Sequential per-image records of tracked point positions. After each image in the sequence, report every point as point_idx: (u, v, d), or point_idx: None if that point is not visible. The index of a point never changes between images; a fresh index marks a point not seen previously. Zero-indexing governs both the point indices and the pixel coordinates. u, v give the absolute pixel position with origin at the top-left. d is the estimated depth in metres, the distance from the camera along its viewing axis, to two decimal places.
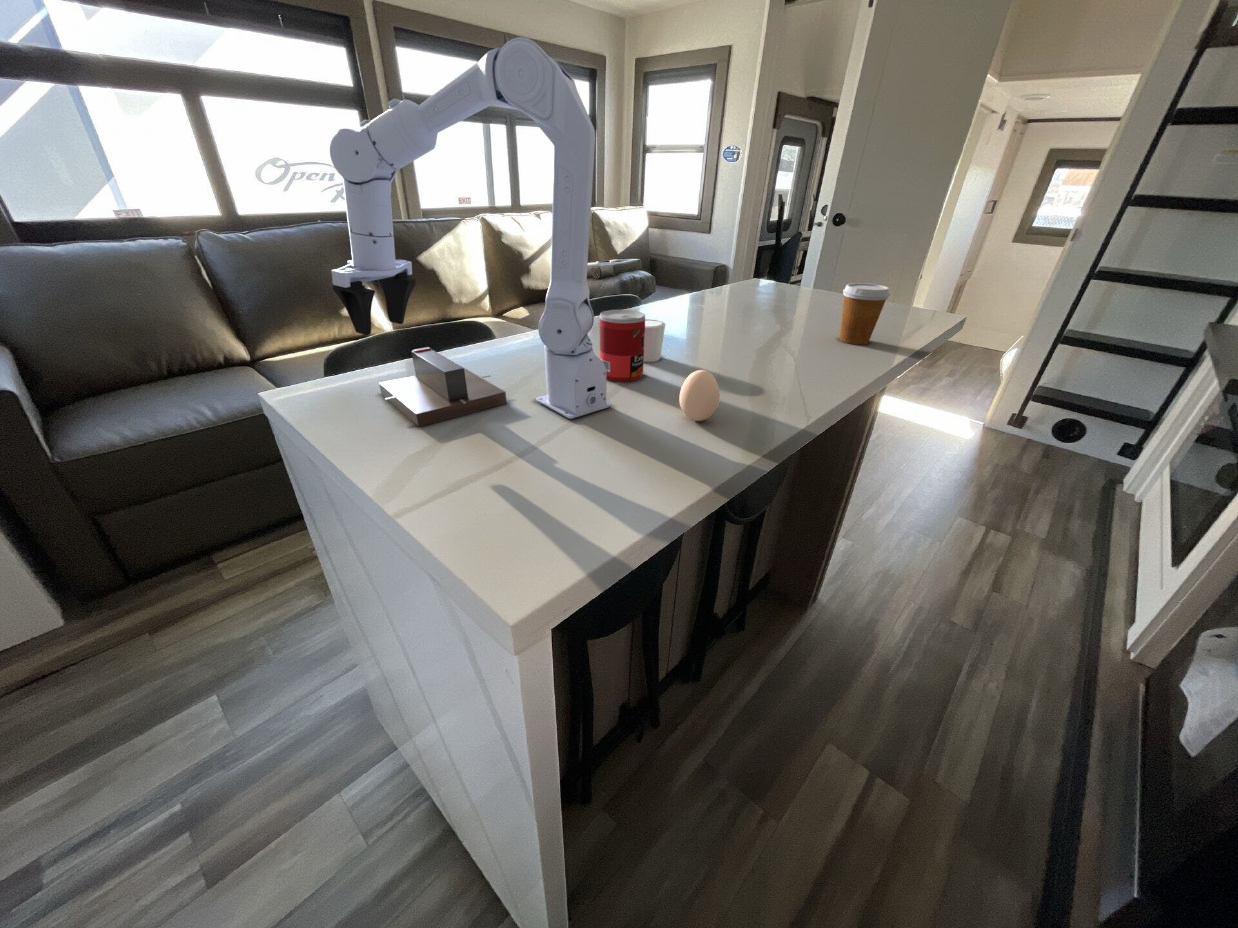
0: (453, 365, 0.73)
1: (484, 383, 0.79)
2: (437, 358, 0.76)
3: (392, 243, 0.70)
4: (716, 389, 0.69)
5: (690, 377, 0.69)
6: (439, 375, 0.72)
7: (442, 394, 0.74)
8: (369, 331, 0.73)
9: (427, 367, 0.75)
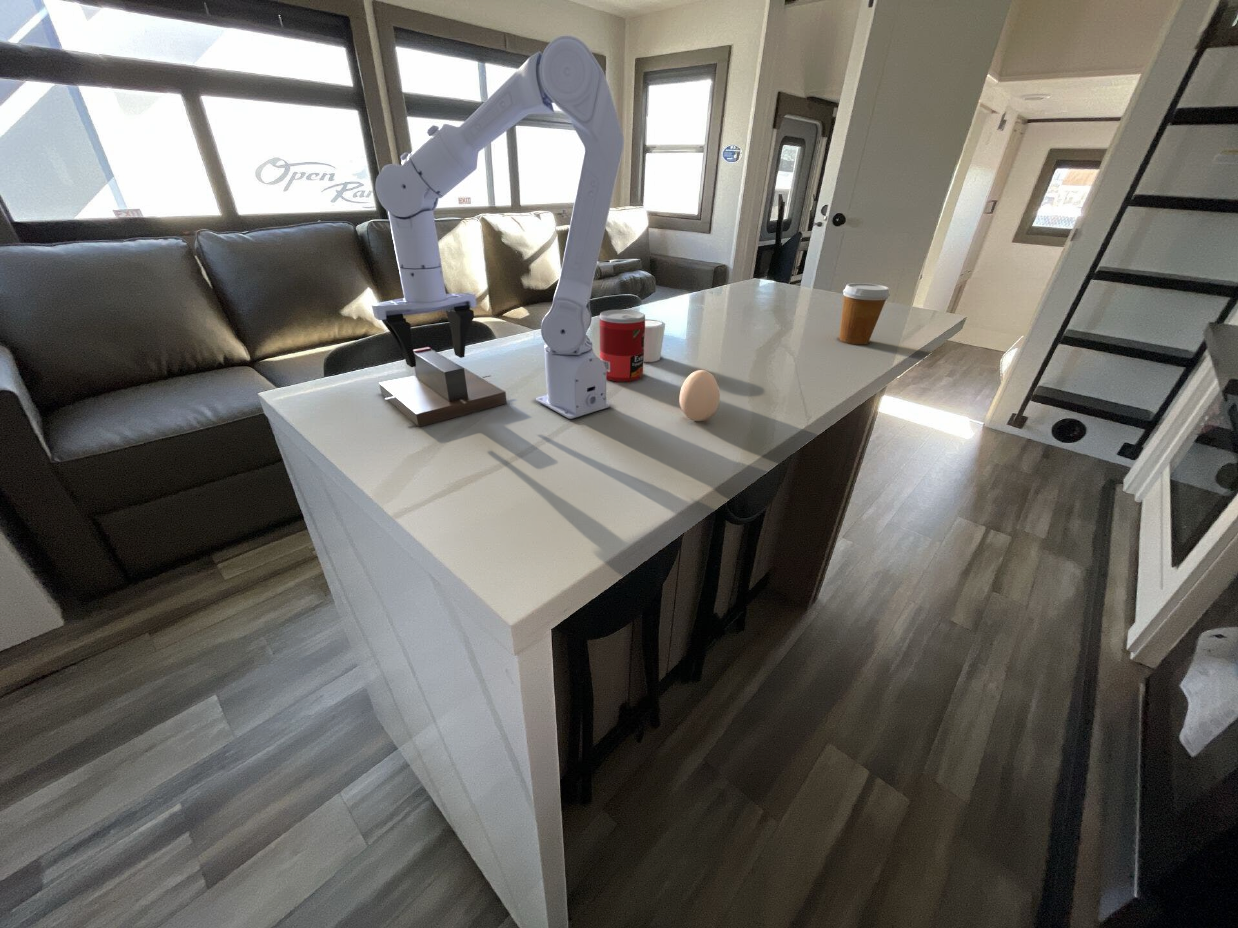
0: (453, 365, 0.73)
1: (484, 383, 0.79)
2: (437, 358, 0.76)
3: (434, 275, 0.68)
4: (716, 389, 0.69)
5: (690, 377, 0.69)
6: (439, 375, 0.72)
7: (442, 394, 0.74)
8: (413, 363, 0.72)
9: (427, 367, 0.75)
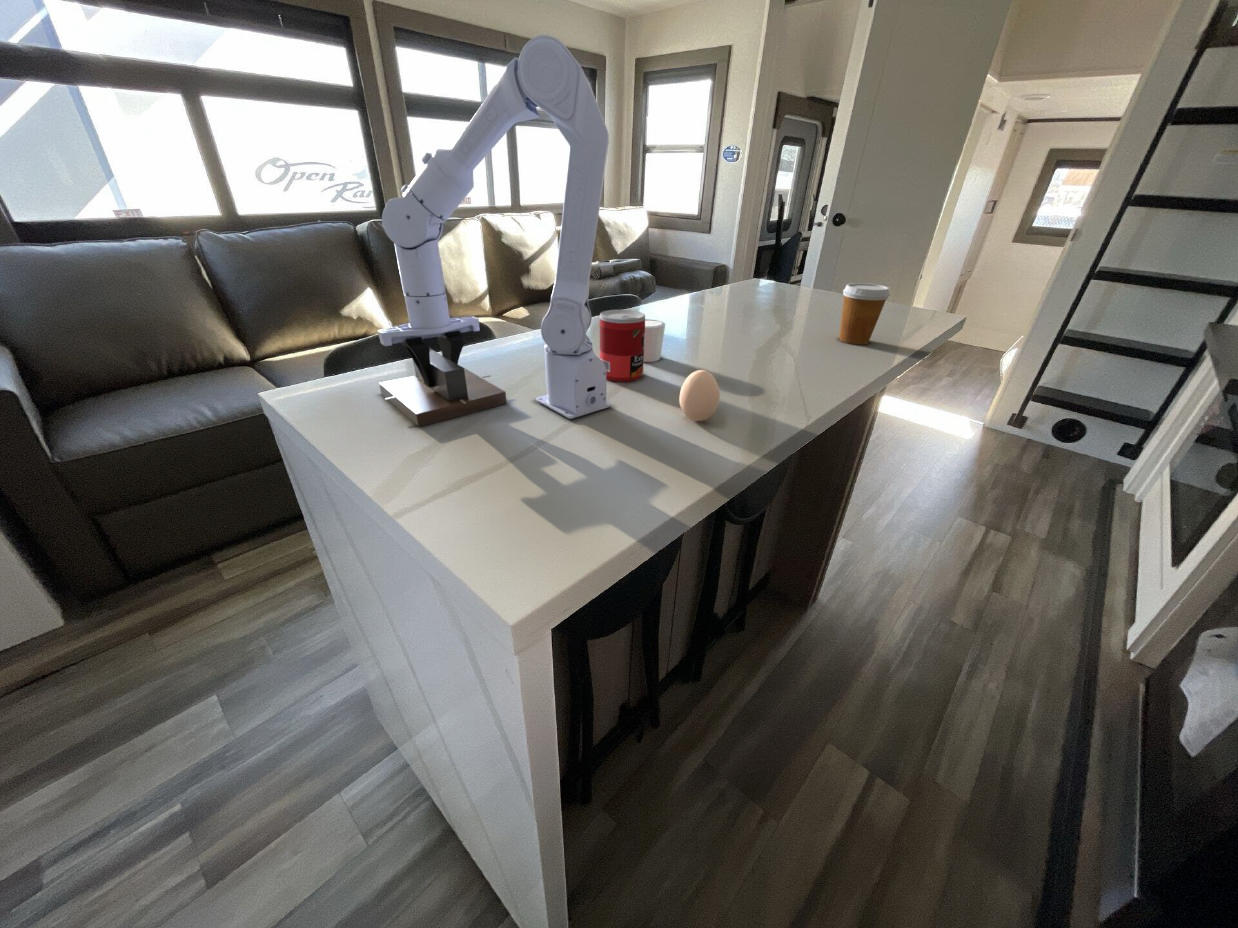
0: (453, 365, 0.73)
1: (484, 383, 0.79)
2: (437, 358, 0.76)
3: (438, 302, 0.70)
4: (716, 389, 0.69)
5: (690, 377, 0.69)
6: (439, 375, 0.72)
7: (442, 394, 0.74)
8: (431, 384, 0.75)
9: None
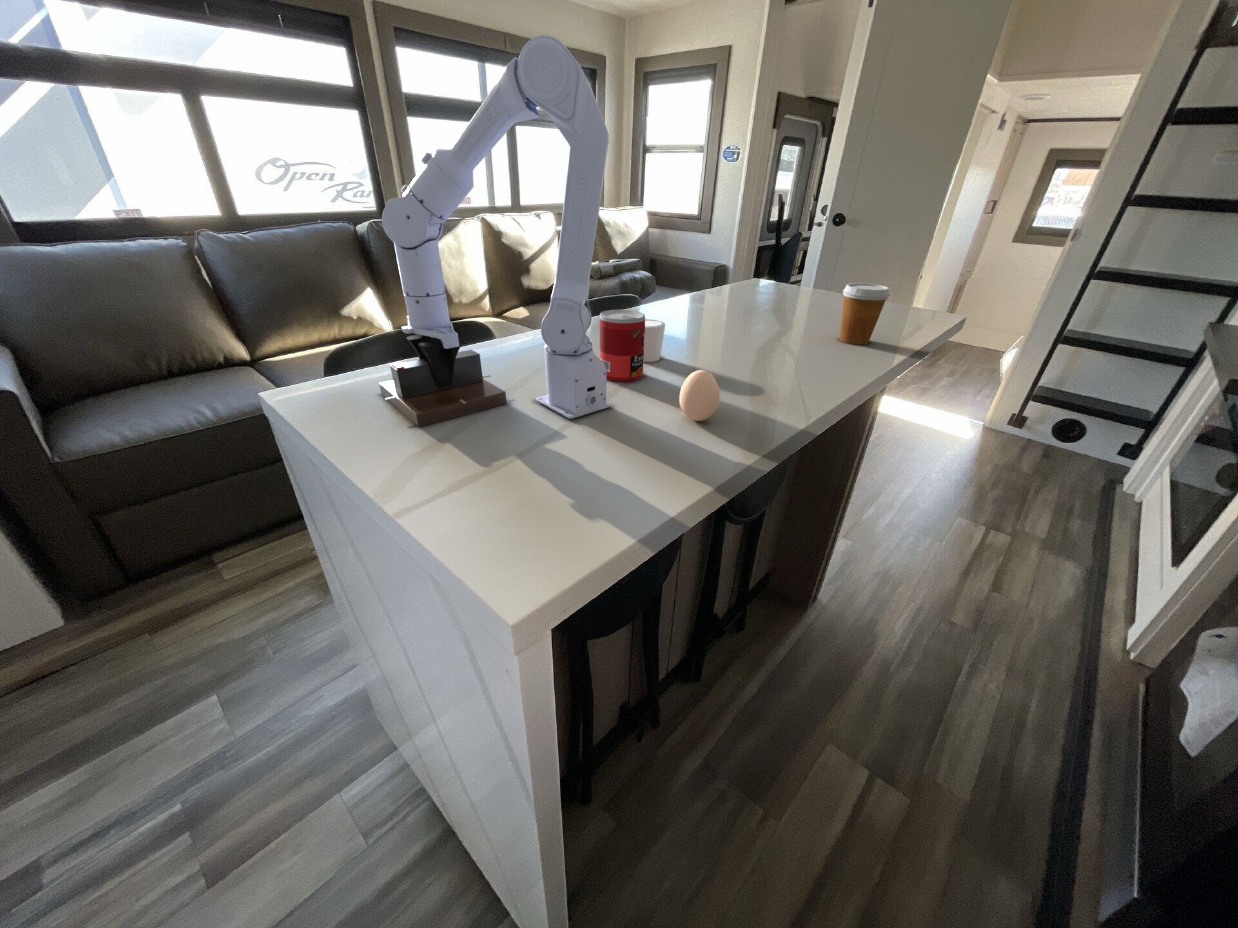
0: (462, 352, 0.78)
1: (484, 383, 0.79)
2: None
3: None
4: (716, 389, 0.69)
5: (690, 377, 0.69)
6: (467, 363, 0.77)
7: (469, 381, 0.79)
8: None
9: None
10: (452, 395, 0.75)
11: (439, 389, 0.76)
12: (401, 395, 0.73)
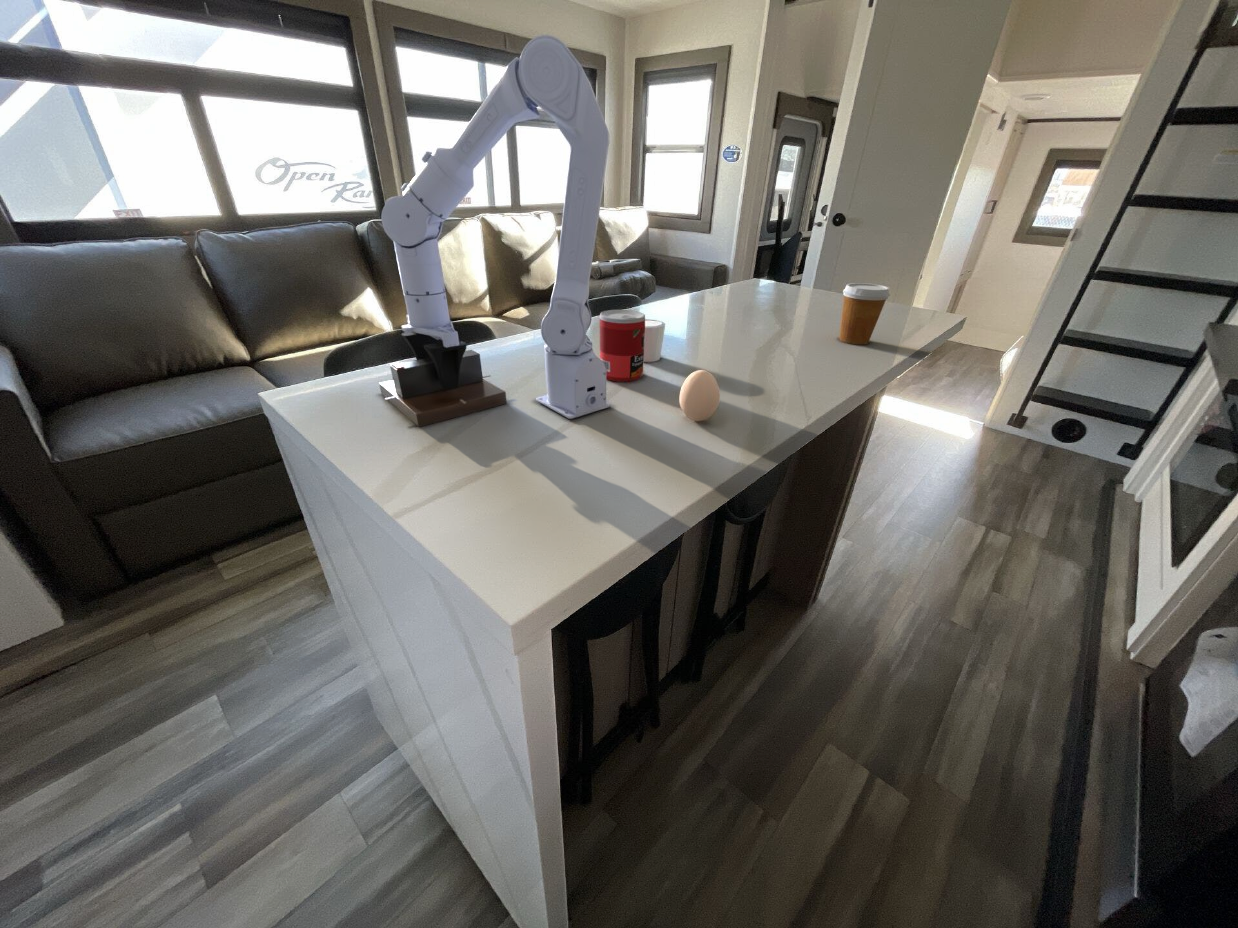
0: None
1: (484, 383, 0.79)
2: None
3: None
4: (716, 389, 0.69)
5: (690, 377, 0.69)
6: (467, 363, 0.77)
7: (469, 381, 0.79)
8: None
9: None
10: (452, 395, 0.75)
11: (439, 389, 0.76)
12: (401, 395, 0.73)
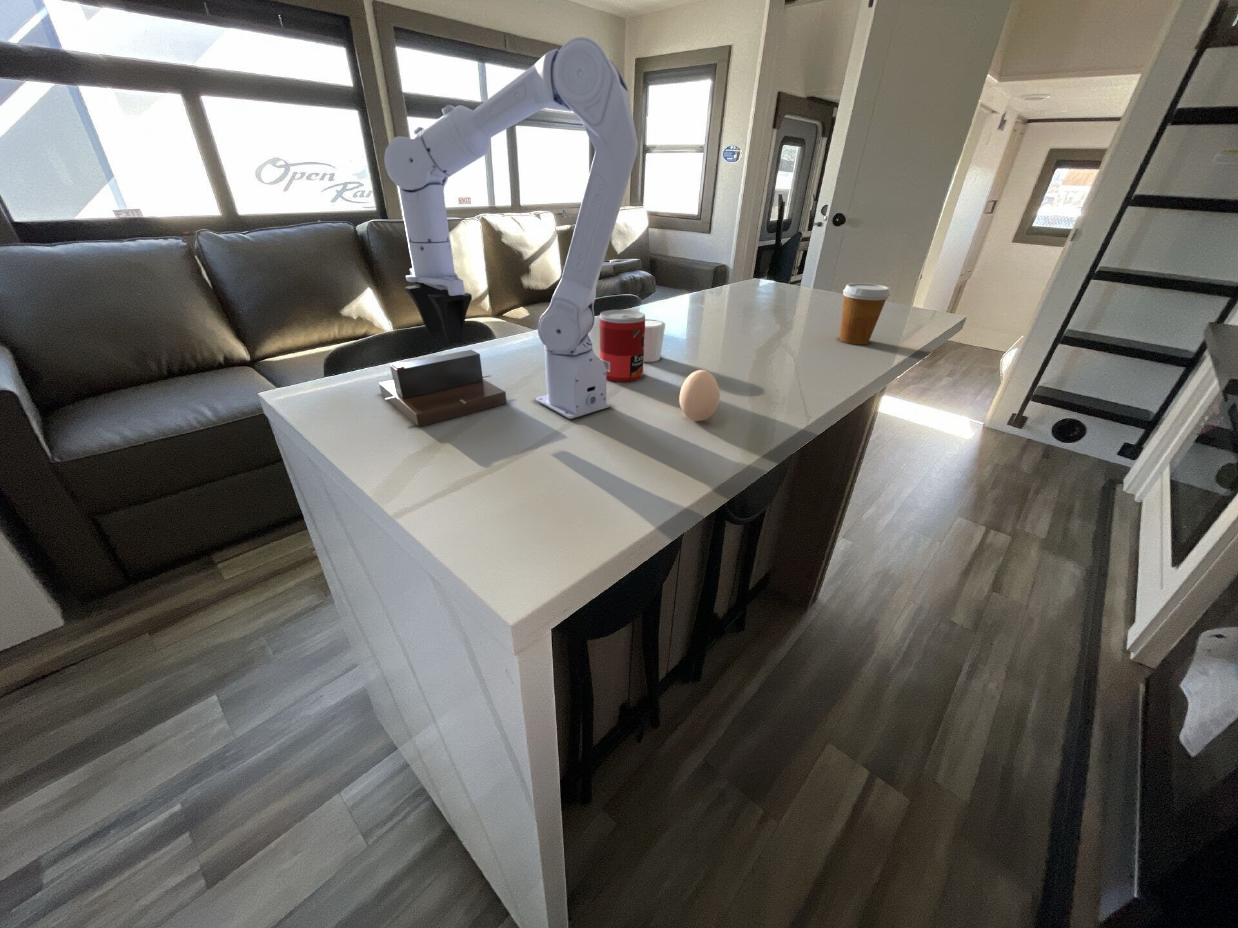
0: (462, 352, 0.78)
1: (484, 383, 0.79)
2: (434, 358, 0.75)
3: None
4: (716, 389, 0.69)
5: (690, 377, 0.69)
6: (467, 363, 0.77)
7: (469, 381, 0.79)
8: None
9: (440, 368, 0.75)
10: (452, 395, 0.75)
11: (439, 389, 0.76)
12: (401, 395, 0.73)
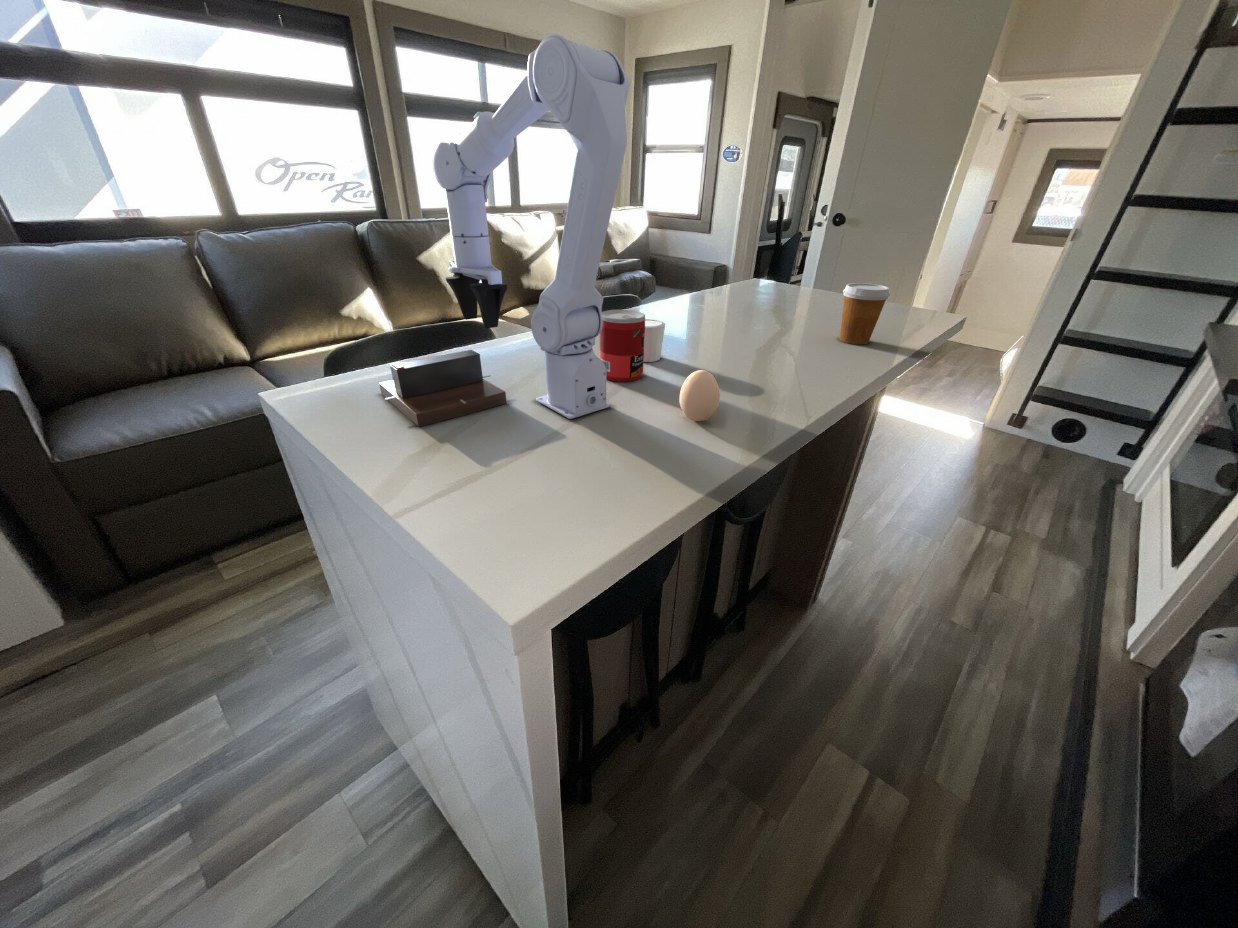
0: (462, 352, 0.78)
1: (484, 383, 0.79)
2: (434, 358, 0.75)
3: None
4: (716, 389, 0.69)
5: (690, 377, 0.69)
6: (467, 363, 0.77)
7: (469, 381, 0.79)
8: None
9: (440, 368, 0.75)
10: (452, 395, 0.75)
11: (439, 389, 0.76)
12: (401, 395, 0.73)
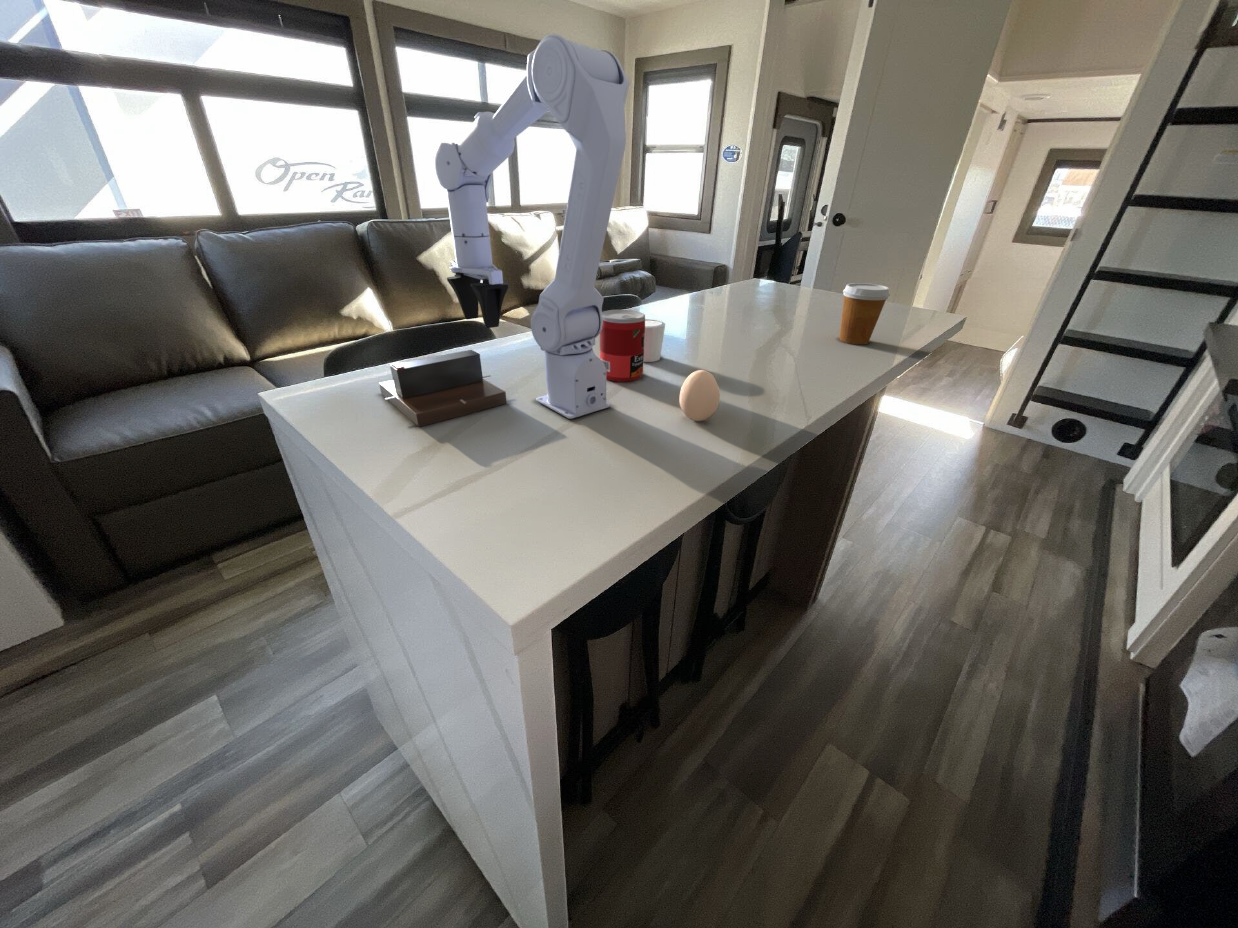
0: (462, 352, 0.78)
1: (484, 383, 0.79)
2: (434, 358, 0.75)
3: None
4: (716, 389, 0.69)
5: (690, 377, 0.69)
6: (467, 363, 0.77)
7: (469, 381, 0.79)
8: None
9: (440, 368, 0.75)
10: (452, 395, 0.75)
11: (439, 389, 0.76)
12: (401, 395, 0.73)
